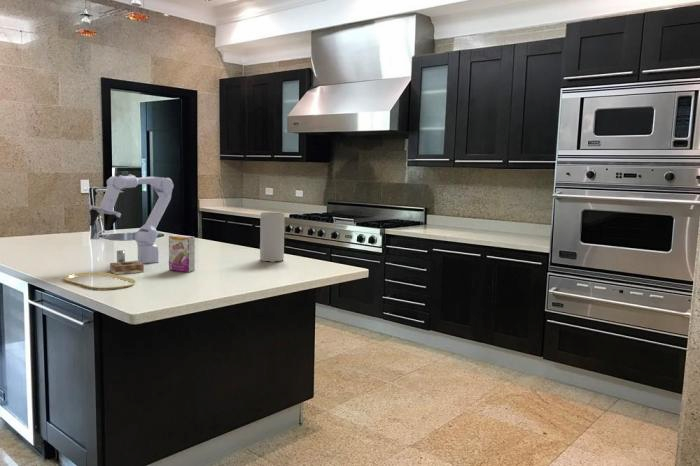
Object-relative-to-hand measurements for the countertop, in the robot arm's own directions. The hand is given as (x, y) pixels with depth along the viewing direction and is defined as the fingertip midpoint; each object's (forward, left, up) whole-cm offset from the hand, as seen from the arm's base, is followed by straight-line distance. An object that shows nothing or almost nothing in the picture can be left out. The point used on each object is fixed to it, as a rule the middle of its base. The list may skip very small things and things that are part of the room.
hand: (99, 228), depth 252 cm
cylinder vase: (-82, +16, -19) cm, 86 cm away
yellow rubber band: (+7, +30, -20) cm, 36 cm away
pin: (-9, +2, -19) cm, 21 cm away
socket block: (-9, +12, -19) cm, 24 cm away
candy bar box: (-31, +22, -19) cm, 42 cm away
